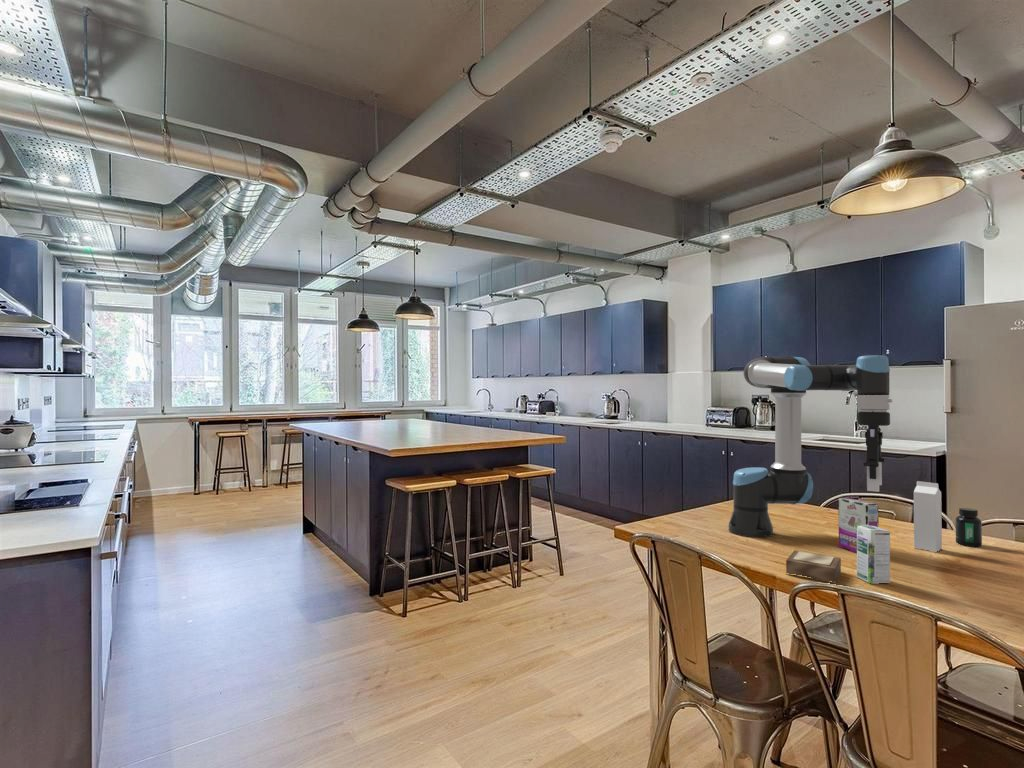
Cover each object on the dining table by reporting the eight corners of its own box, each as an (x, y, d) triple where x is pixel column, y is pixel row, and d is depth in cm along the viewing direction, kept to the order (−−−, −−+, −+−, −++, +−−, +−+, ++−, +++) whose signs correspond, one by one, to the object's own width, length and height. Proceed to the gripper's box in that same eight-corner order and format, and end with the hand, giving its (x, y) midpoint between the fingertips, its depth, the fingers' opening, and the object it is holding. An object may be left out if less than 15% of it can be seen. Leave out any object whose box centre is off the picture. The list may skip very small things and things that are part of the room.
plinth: (786, 574, 154) (786, 559, 154) (794, 563, 163) (794, 549, 163) (835, 583, 147) (835, 567, 147) (840, 571, 156) (840, 556, 156)
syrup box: (855, 577, 151) (855, 525, 152) (875, 576, 152) (875, 524, 152) (870, 584, 146) (870, 530, 146) (891, 584, 146) (891, 530, 146)
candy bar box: (880, 555, 172) (879, 503, 172) (867, 556, 170) (866, 504, 171) (849, 546, 182) (849, 497, 183) (837, 547, 181) (837, 497, 181)
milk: (936, 553, 175) (935, 484, 175) (913, 548, 180) (913, 481, 180) (942, 549, 178) (941, 482, 178) (920, 545, 183) (919, 480, 183)
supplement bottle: (974, 548, 180) (973, 512, 180) (951, 543, 186) (950, 508, 186) (986, 546, 182) (986, 510, 182) (963, 541, 189) (963, 506, 189)
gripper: (888, 412, 138) (889, 495, 138) (891, 410, 158) (892, 483, 158) (853, 411, 143) (854, 492, 142) (861, 410, 163) (862, 481, 162)
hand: (874, 488), depth 150 cm, fingers open, 13 cm apart
